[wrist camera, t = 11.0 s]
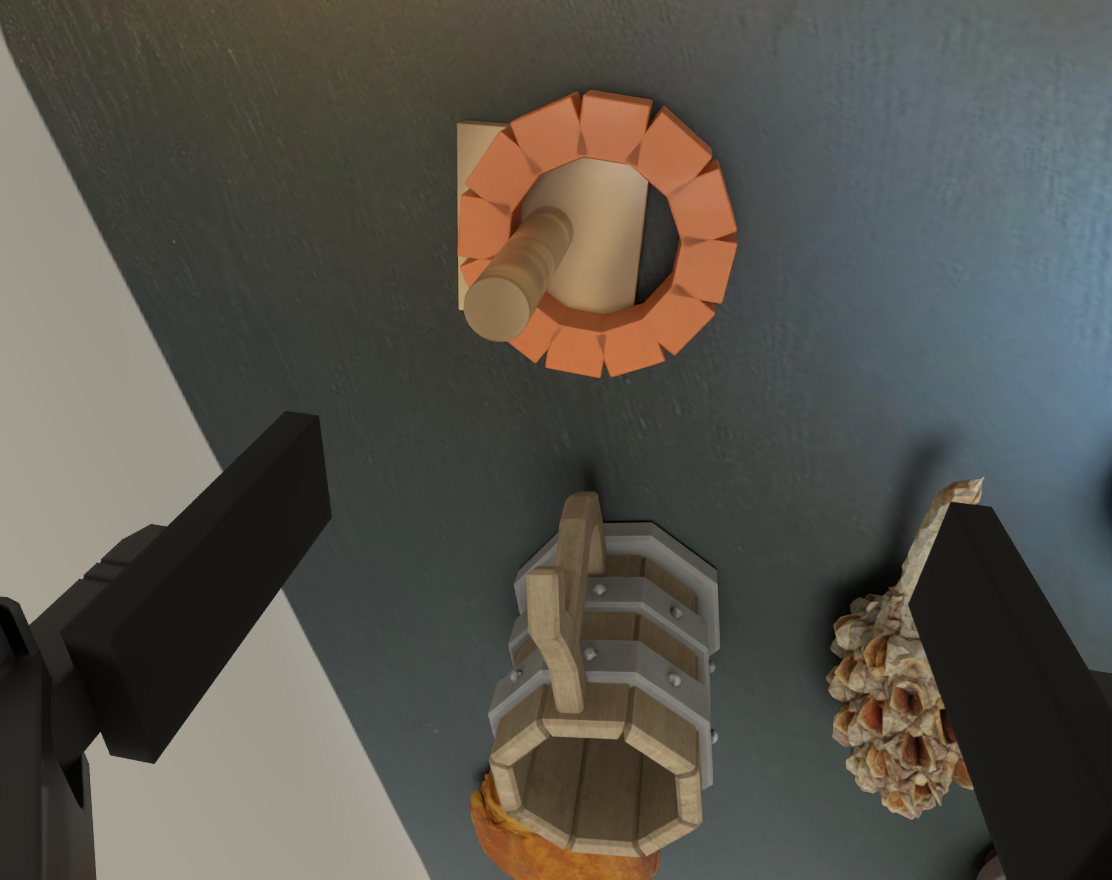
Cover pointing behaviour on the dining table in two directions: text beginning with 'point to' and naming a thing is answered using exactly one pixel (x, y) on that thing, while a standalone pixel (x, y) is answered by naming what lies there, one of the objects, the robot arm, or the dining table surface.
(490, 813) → the croissant
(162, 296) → the dining table surface
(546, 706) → the tankard
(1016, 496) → the dining table surface
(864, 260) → the dining table surface
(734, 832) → the dining table surface
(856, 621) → the pine cone
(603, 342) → the ring
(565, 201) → the rack
